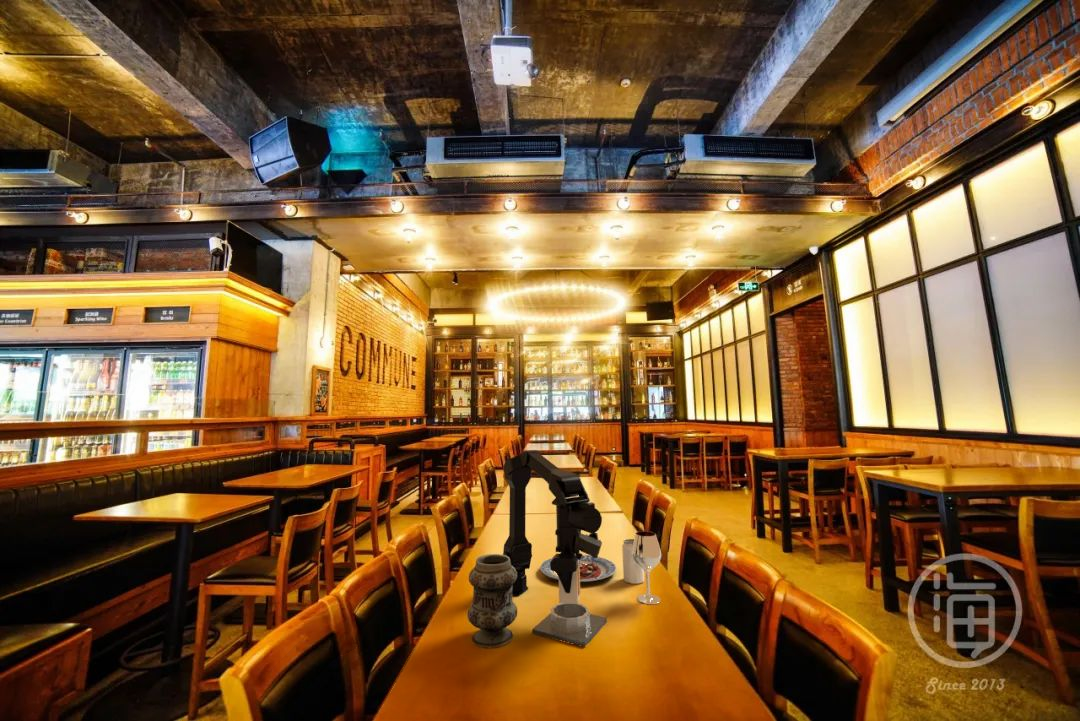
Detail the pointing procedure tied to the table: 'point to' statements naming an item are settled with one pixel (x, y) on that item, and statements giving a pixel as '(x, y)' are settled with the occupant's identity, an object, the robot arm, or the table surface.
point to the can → (631, 564)
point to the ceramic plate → (586, 568)
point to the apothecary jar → (492, 600)
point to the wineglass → (646, 559)
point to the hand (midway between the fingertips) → (569, 589)
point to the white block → (575, 589)
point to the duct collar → (570, 624)
